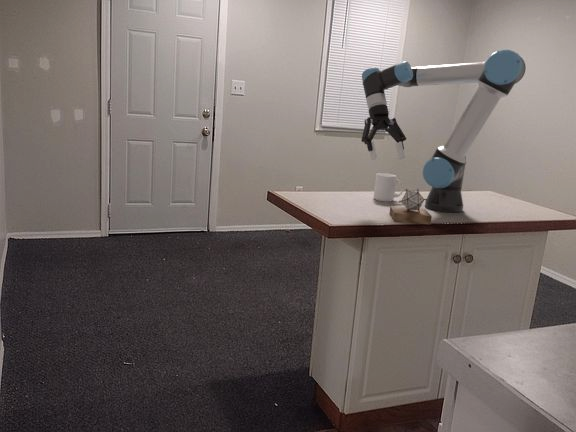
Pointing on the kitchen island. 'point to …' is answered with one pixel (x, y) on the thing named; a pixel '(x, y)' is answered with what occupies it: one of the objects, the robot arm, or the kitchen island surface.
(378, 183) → the mug
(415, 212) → the pedestal
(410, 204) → the game die
